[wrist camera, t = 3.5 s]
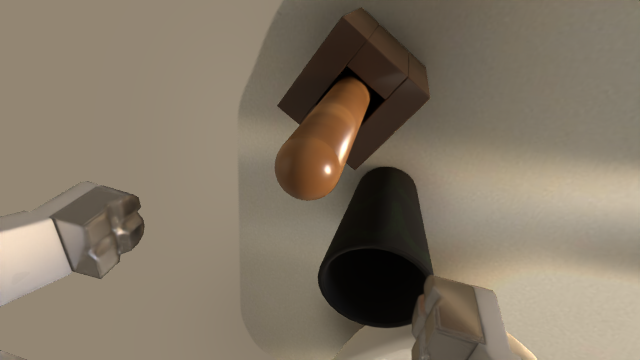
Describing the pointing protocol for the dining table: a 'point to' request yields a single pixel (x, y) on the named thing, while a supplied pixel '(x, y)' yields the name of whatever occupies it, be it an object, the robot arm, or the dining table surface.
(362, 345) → the bowl
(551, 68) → the dining table surface
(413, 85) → the holder
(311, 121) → the stick
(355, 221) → the cup
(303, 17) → the dining table surface
